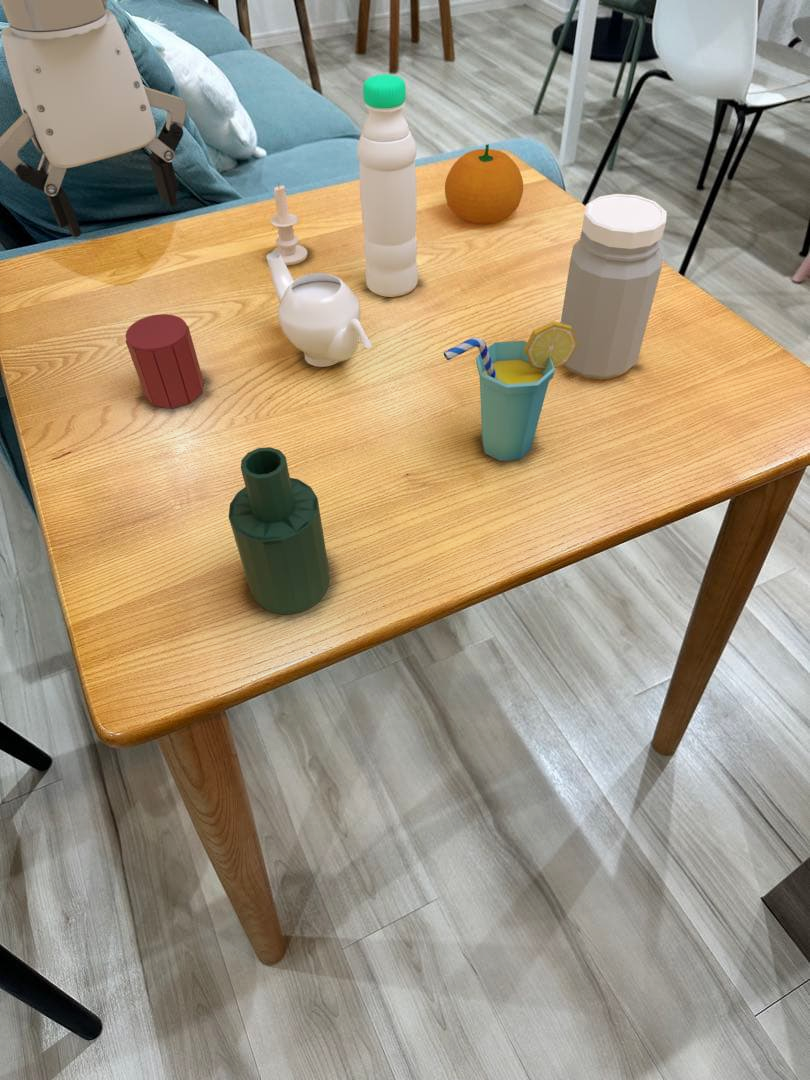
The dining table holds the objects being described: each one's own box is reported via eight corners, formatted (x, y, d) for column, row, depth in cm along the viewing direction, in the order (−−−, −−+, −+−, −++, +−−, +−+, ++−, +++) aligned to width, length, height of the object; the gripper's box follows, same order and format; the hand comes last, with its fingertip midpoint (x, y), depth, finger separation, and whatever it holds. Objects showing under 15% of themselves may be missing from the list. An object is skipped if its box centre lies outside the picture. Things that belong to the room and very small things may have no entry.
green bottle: (248, 617, 66) (211, 499, 54) (252, 555, 70) (219, 434, 59) (330, 611, 66) (310, 492, 54) (329, 549, 70) (310, 428, 59)
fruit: (446, 195, 118) (448, 128, 111) (520, 197, 117) (527, 129, 110) (441, 231, 111) (442, 161, 103) (520, 233, 110) (527, 163, 102)
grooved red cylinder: (142, 410, 85) (120, 351, 79) (150, 374, 89) (130, 315, 83) (200, 406, 85) (183, 347, 79) (206, 370, 89) (190, 311, 83)
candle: (264, 259, 106) (251, 186, 99) (286, 244, 109) (275, 171, 101) (293, 269, 105) (282, 194, 97) (314, 252, 107) (306, 179, 100)
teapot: (339, 411, 84) (331, 340, 77) (249, 333, 94) (234, 265, 87) (405, 378, 88) (403, 307, 81) (312, 307, 98) (303, 239, 91)
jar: (654, 366, 88) (696, 217, 74) (590, 394, 85) (621, 244, 71) (599, 327, 94) (629, 181, 80) (537, 352, 90) (557, 204, 77)
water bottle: (427, 280, 102) (427, 74, 83) (399, 304, 98) (393, 94, 79) (384, 267, 104) (375, 64, 86) (356, 290, 101) (339, 83, 82)
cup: (461, 493, 75) (467, 370, 64) (424, 447, 80) (424, 325, 68) (574, 447, 79) (599, 324, 68) (533, 407, 84) (550, 285, 72)
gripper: (139, -26, 64) (189, 177, 77) (-72, 14, 58) (21, 228, 71) (174, -8, 60) (220, 204, 73) (-49, 38, 53) (45, 260, 67)
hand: (122, 215), depth 72 cm, fingers open, 9 cm apart
